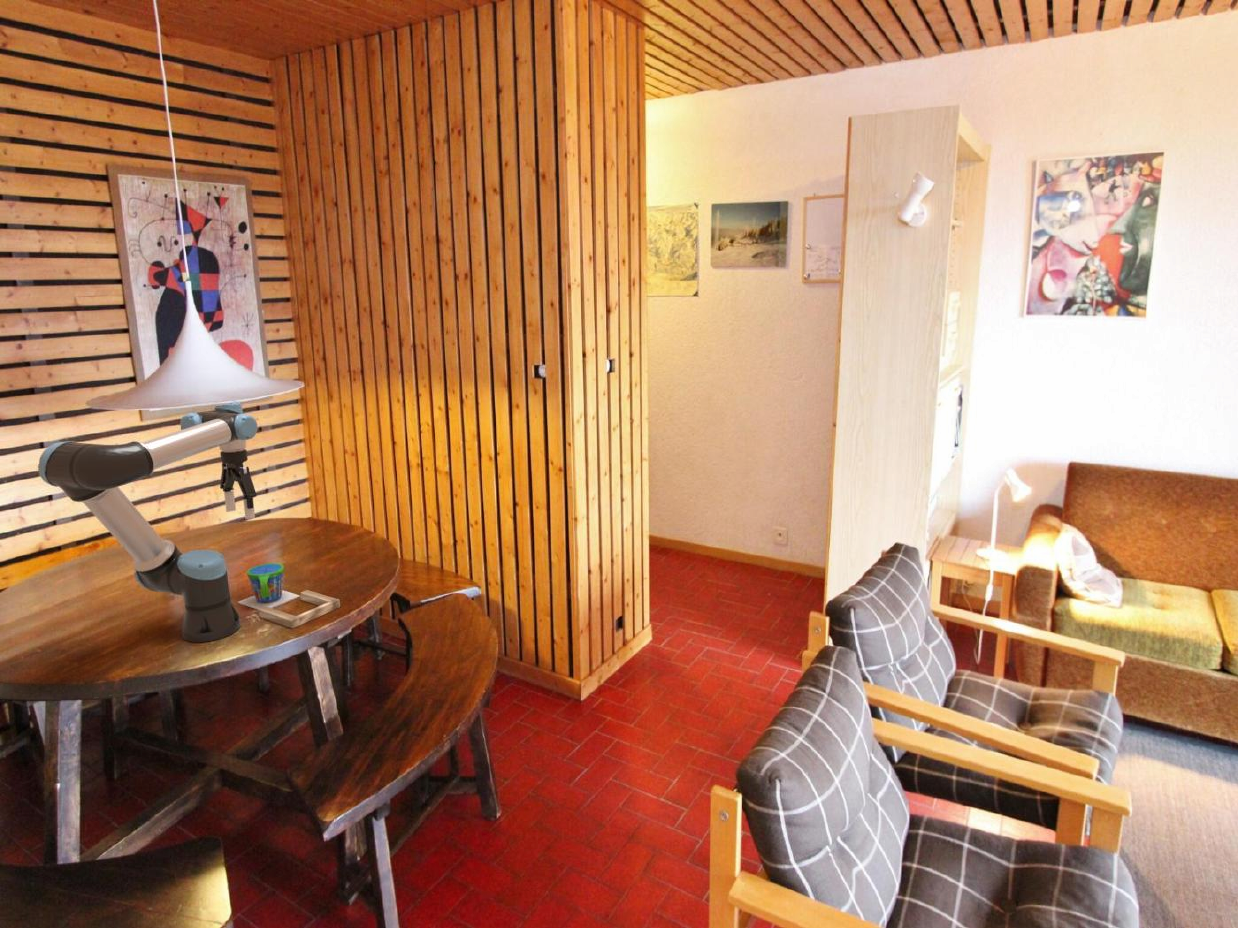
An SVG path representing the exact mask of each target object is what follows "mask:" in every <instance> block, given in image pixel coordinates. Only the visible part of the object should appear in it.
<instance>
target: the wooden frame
mask: <svg viewBox="0 0 1238 928" xmlns="http://www.w3.org/2000/svg"><path fill="white" fill-rule="evenodd" d="M299 594H300V600H301V601H303V602H307V603H309V604H313V605H315V606H316V607H315V608H312V609H309V610H307V611H305V612H302V613H300V614H298V615H293V614H289V613H287V612H284V611H281V610H278V609H274V608H269V607H264V608H261V609H259V610H258V614H259V618H261V619H264V620H267V621H269V622H272V623H275V624H278V625H281V626H283V627H287V628H290V629H295V628H298V627H299V626H302V625H304V624H307V623H308V622H311V621H313V620H315V619H317V618H319V617H322V616H323V615H326V614H329V613H330V612H333V611H335V610H337V609H340V608H341V602H340V599H339V598H334V597H331V596H328V595H324V594H321V593H319V592H315V591H311V590H308V589H306V590H303V591H301V592H300V593H299Z"/></svg>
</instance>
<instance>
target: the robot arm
mask: <svg viewBox="0 0 1238 928" xmlns="http://www.w3.org/2000/svg"><path fill="white" fill-rule="evenodd" d="M232 401H233V402H236V401H237V400H232ZM257 422H258V421H257V420H256V418H255V417H254V416H252V415H250V414H244V411H243V405H242V403H241V402H240V401H239V402H238V403H230V404H226V405H222V406H215V405H214V409H212V410H206V411H205V410H204V411H197V412H195V411H193V412H191V413H185V415H183V416H182V417H181V419H180V423H179V425H180V430H177V431H174V432H172V433H171V432H170V433H168V434H165V435H162V436H159V437H156V438H152V439H149V440H146V441H144V442H140V441H137V440H136V441H135V440H133V441H130V442H127V443H123V444H122V443H121V444H120V443H119V444H97V443H85V442H78V441H74V440H73V441H72V440H70V441H69V440H68V441H59V442H56V443H52V444H51V445H49V446H48V447H46V449H44V451H42V453H41V455H40V457H39V460H38V464H37V471H38V474H39V477H40V478H41V479H42V480H43V481H44V483H46V484H48V485H50V486H52V487H54V488H56V487H57V488H58V487H59V488H60V489H61V491H62V492H64V493H65V494H66V495H67V497H68V498H69V499H70V500H71V501H73V502H76V503H83V504H84V505H85V507H86V508H87V509H89V511H90V512H91V513H92V514H93V515H94V516H95V517H96V519H97V520H99V522H100V523H101V524H102V525H103V526H104V527H105V529H107V531H108V532H109V533H110V534H111V536H113V537H114V539H115V540H116V541H117V542H118V544H120V545H121V547H123V548H124V549H125V551H126V552H127V553H128V554H129V555H130V556H131V558H133V561H132V567H133V570H134V572H133V573H134V578H135V580H136V582H137V584H139V585H140V586H141V587H142V588H145V589H147V590H149V591H152V592H157V593H165V594H171V595H178V596H182V597H183V604H184V616H183V620H182V625H181V636H182V639H183V640H185V641H187V642H190V643H204V642H205V643H206V642H211V641H212V642H213V641H215V640H220V639H223V638H226V637H229V636H230V635H233V634H234V633H235V632H237V631H238V630H240V628H241V626H242V623H241V617H240V615H239V613H238V612H237V610H236V608H235V607H234V606H235V605H233V603H232V601H231V596H230V595H231V593H230V584H229V577H228V571H227V569H228V568H227V564H226V562H225V557H224V556H223V554H222V553H220V552H219V551H216V550H213V549H207V548H206V549H202V550H201V549H195V550H193V549H192V550H189V551H186V552H184V553H183V552H182V551H181V550H180V549H179V548H178V547H177V546H176V544H175V543H174V542H173V541H171V540H168V539H163V538H162V537H161V536H160V535H159V534H158V532H157V531H156V530H155V529H154V527H153V526H152V524H150V523H149V522H148V520H147V519H146V518H145V517H144V515H142V513H141V512H140V511H139V510H138V509H137V507H136V506H135V505H134V503H132V501H131V500H130V499H129V498H128V497H127V496H126V494H125V493H124V491H122V490H121V488H120V487H122V486H125V485H127V484H131V483H132V482H136V481H139V480H141V479H144V478H146V477H149V476H152V475H153V473H154V471H155V470H157V469H159V468H163V467H165V466H168V465H170V464H173V463H176V462H179V461H183V460H184V459H188V458H189V457H192V456H196V455H198V454H201V453H204V452H206V451H210V450H212V449H214V448H217V447H219V450H221V451H220V453H219V454H220V462H221V474H220V475H221V477H220V485H219V488H220V489H221V490H222V491H223V493H224V494H223V495H224V503H225V504H224V505H225V512H227V513H229V512H233V511H234V512H235V511H236V510H237V509H236V500H235V492H234V491H235V488H234V484H235V482H237V484H238V486H239V489H240V491H241V493H242V495H243V497H242V501H243V508H244V519H245V520H249V519H253V518H256V515H255V503H254V498H256V497H257V492H256V489H255V486H254V482H253V479H252V475H251V472H250V468H249V466H244V463H246V462H247V461H248V459H249V458H248V451H247V449H246V448H247V442H246V441H249V440H252V439H253V438H254V437H255V436H257V432H258V429H259V428H258V423H257Z"/></svg>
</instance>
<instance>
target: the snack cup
mask: <svg viewBox="0 0 1238 928" xmlns="http://www.w3.org/2000/svg"><path fill="white" fill-rule="evenodd" d="M284 568H285V567H284V565H283V564H281V563H276V562H275V563H274V562H273V563H272V562H271V563H263V564H259V565H256V566H253V567H251V568H249V569H248V570H247V572H246V574H247V577H248V579H249V581H250V582H249V583H250V585H251V588H252V591H253V594H254V595H255V597H256V600H257V601H258V602H271V601H275V600H277V599H280V597H281V596H282V590H283V585H284V584H283V583H284V582H283V581H284V580H283V579H284V576H283V575H284V574H283V573H284V572H285V569H284Z"/></svg>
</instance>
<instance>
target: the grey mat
mask: <svg viewBox="0 0 1238 928" xmlns="http://www.w3.org/2000/svg"><path fill="white" fill-rule="evenodd" d="M298 598H301V595H299V594H296V593H292V592H290V591H286V590H283V589H282V596H281V597H280V599H277V600H275V601H271V602H258V601H257V600H256V597H255V594H254V595H252V596H249V597H247V598H243V599H241V600H240V601H237V604H240V605H242V606H246V607H247V608H248V607H249V608H251V609H255V610H256V611H259V609H261V608H264V607H269V608H272V609H274V608H276V607H279V606H281V605H283V604H286V603H288V602H291V601H293V600H296V599H298Z"/></svg>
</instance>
